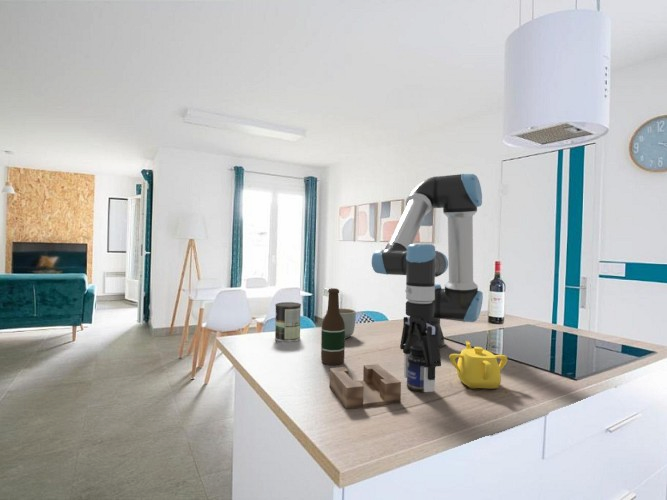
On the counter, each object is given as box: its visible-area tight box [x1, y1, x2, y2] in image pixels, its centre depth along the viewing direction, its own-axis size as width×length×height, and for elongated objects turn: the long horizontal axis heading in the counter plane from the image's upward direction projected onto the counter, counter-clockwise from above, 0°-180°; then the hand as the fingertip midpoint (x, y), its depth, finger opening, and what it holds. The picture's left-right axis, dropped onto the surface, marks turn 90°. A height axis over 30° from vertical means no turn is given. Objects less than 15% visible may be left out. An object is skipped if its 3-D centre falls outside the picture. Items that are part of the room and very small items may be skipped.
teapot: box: [449, 340, 508, 390], centre depth 103 cm, size 14×13×10 cm
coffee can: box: [274, 301, 302, 343], centre depth 148 cm, size 10×10×14 cm
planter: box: [325, 307, 357, 339], centre depth 153 cm, size 12×12×11 cm
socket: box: [329, 363, 402, 410], centre depth 94 cm, size 14×14×5 cm
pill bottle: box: [406, 345, 426, 393], centre depth 99 cm, size 6×6×11 cm
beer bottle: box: [320, 288, 346, 366], centre depth 120 cm, size 8×8×24 cm
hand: (418, 383), depth 99 cm, fingers open, 10 cm apart
